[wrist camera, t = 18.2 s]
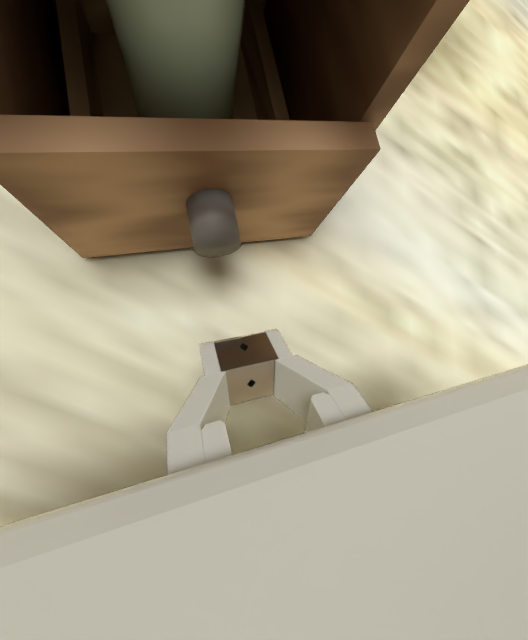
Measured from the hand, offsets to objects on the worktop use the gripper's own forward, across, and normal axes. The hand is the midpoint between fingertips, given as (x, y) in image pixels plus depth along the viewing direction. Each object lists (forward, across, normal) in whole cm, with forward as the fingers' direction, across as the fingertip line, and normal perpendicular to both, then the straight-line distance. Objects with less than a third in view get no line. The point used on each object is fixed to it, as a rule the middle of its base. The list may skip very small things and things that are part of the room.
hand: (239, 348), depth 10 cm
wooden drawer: (+12, 0, -6) cm, 13 cm away
